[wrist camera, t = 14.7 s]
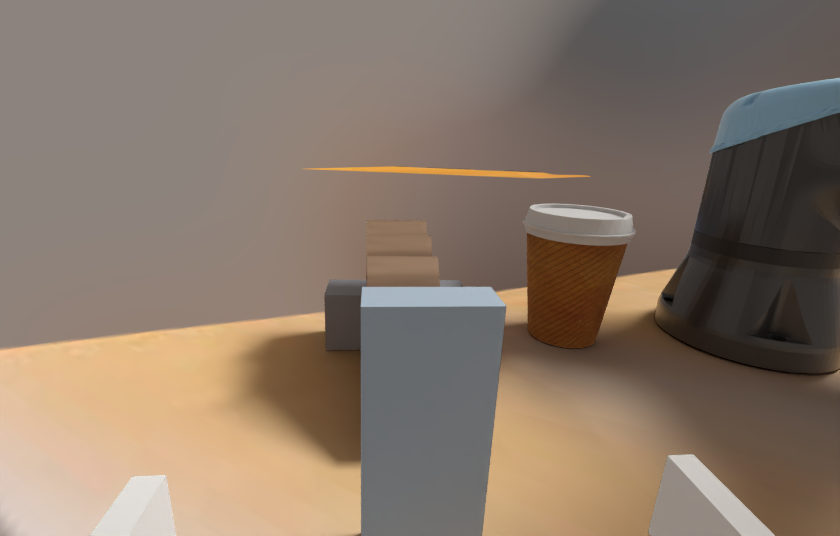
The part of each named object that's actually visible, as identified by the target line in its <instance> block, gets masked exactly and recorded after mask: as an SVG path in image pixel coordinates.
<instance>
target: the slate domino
mask: <svg viewBox="0 0 840 536" xmlns="http://www.w3.org/2000/svg"><path fill="white" fill-rule="evenodd" d="M505 314H506V305H505V304H504V303H503V301H502V300H501V299H500V298H499V297H498V295H497V294H496V293H495V292H494V290H493V289H492V288H491V287H362V295H361V536H482V531H483V521H484V512H485V503H486V493H487V484H488V474H489V465H490V456H491V446H492V437H493V427H494V418H495V409H496V399H497V390H498V380H499V371H500V361H501V352H502V343H503V333H504V324H505Z"/></svg>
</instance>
